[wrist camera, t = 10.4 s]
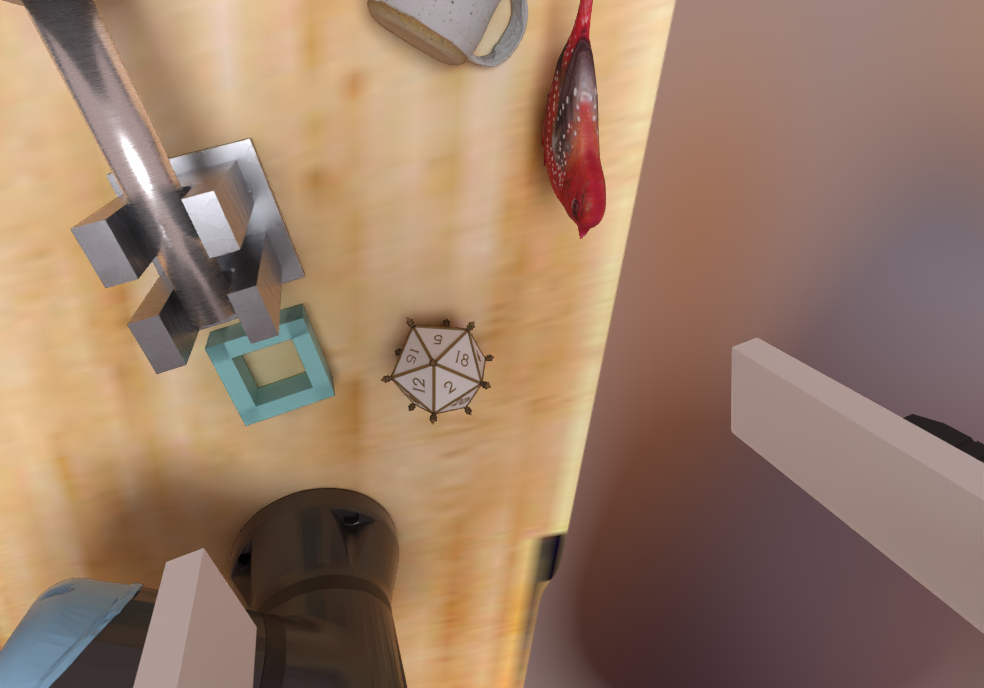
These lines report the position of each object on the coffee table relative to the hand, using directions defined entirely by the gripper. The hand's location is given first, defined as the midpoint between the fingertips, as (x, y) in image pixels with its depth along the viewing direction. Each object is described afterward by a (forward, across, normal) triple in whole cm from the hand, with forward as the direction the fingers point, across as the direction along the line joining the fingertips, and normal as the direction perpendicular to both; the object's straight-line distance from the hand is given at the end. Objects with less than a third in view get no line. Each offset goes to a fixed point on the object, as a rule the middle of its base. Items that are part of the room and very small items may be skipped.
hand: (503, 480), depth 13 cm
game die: (+33, -2, +13) cm, 35 cm away
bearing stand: (+33, +10, -2) cm, 34 cm away
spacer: (+31, +10, +6) cm, 33 cm away
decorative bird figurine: (+33, -16, -4) cm, 37 cm away
